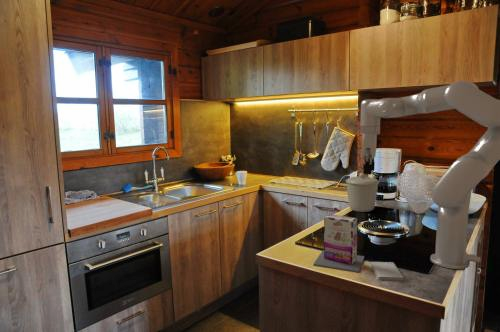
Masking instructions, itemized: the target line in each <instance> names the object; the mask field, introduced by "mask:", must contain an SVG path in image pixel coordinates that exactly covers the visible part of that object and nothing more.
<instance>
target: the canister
mask: <svg viewBox="0 0 500 332" xmlns="http://www.w3.org/2000/svg"><path fill="white" fill-rule="evenodd" d="M366 175H367V174H363V172H360V173H359V174H358V176H351V177H349V178H347V179H345V183H346V190H347V201H348V207H349V208H350V209H351V210H352V211H355V212H360V213H365V212H367V213H368V212H371V211H373V210H374V209H375V207H376V201H377V194H378V187H379V186H378V185H379V184H380V181H379V180H378V179H377V178H374V177H372V176H371V177H370V176H366Z"/></svg>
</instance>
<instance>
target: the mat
mask: <svg viewBox="0 0 500 332" xmlns="http://www.w3.org/2000/svg"><path fill="white" fill-rule="evenodd" d="M364 259H365V255H359V254H357V261H356V262H355V263H353V264H352V265H350V264H345V263H341V262H337V261H332V260H328V259H324V249H323V250H322V251H321V252H320V254H319V255H318V256H317V258H316V260H315V261H314V262H313V266H316V267H321V268H328V269H334V270H341V271H348V272H353V273H360V270H361V267H362V264H363V262H364Z"/></svg>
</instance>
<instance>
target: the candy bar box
mask: <svg viewBox="0 0 500 332" xmlns="http://www.w3.org/2000/svg"><path fill="white" fill-rule="evenodd" d="M323 229H324V230H323V234H324V235H323V240H324V241H323V245H324V246H323V248H324V249H323V250H324V259H328V260H332V261H337V262H341V263H345V264H350V265H352V264H353V263H355V262H356V261H357V255H358V254H357V253H358V251H357V250H358V218H357V217H351V216H343V215H339V214H327V215H325V216H324V217H323Z"/></svg>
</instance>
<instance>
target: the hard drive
mask: <svg viewBox="0 0 500 332" xmlns="http://www.w3.org/2000/svg"><path fill="white" fill-rule="evenodd" d="M370 266H371V269H372V270H373V272H374V274H375V276H376V279H377V280H379V281H401V282H404V281H405V278H404V276H403V274H402V273H401V271H400V270H399V268H398V267H397V266H396V264H395V263H394V262H393V261H388V262H387V261H385V262H384V261H371V262H370Z"/></svg>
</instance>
